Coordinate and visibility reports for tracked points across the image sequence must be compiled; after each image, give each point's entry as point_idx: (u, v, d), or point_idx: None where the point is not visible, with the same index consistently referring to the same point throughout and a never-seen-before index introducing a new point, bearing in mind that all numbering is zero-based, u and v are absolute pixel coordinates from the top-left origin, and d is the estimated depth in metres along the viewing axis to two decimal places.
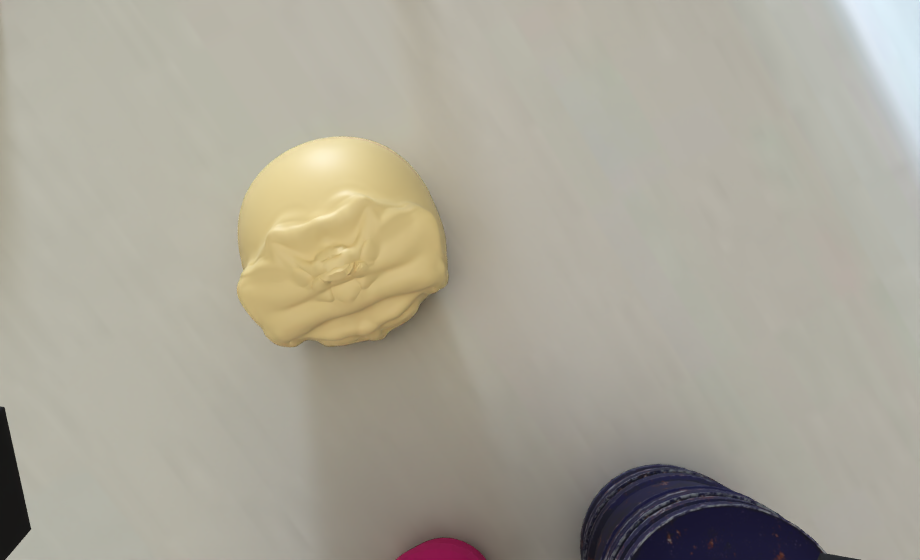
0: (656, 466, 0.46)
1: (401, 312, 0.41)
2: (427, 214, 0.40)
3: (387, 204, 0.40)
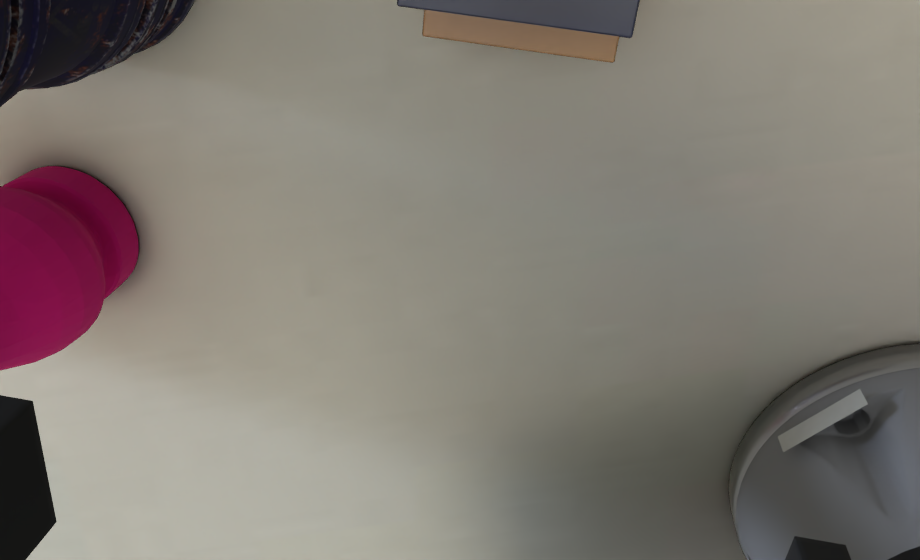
0: None
1: None
2: None
3: None
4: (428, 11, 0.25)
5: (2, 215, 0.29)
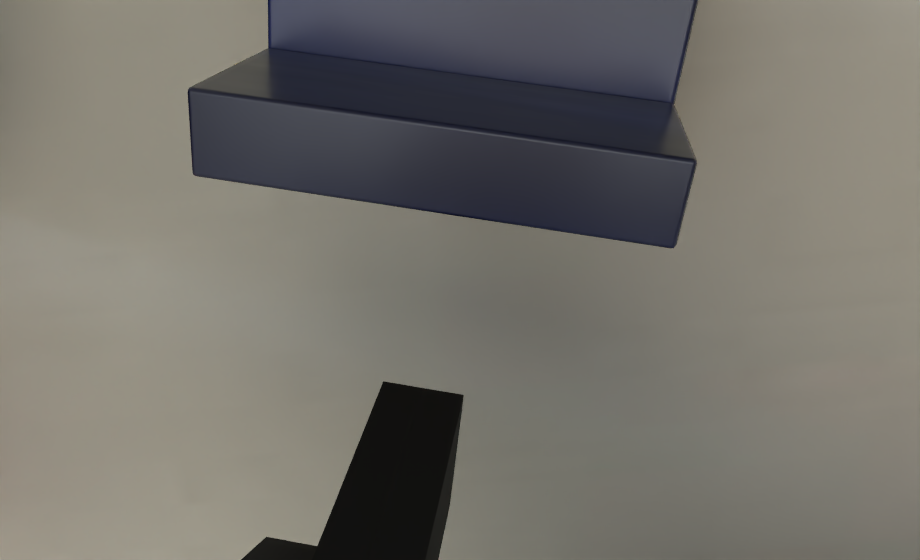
0: None
1: None
2: None
3: None
4: None
5: None
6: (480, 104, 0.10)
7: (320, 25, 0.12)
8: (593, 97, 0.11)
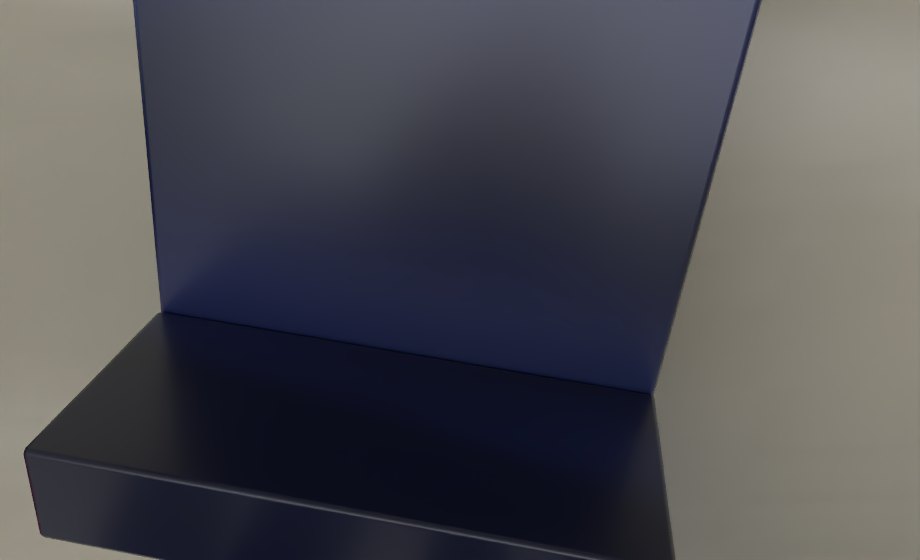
0: None
1: None
2: None
3: None
4: None
5: None
6: (406, 439, 0.08)
7: (221, 291, 0.10)
8: (553, 395, 0.09)
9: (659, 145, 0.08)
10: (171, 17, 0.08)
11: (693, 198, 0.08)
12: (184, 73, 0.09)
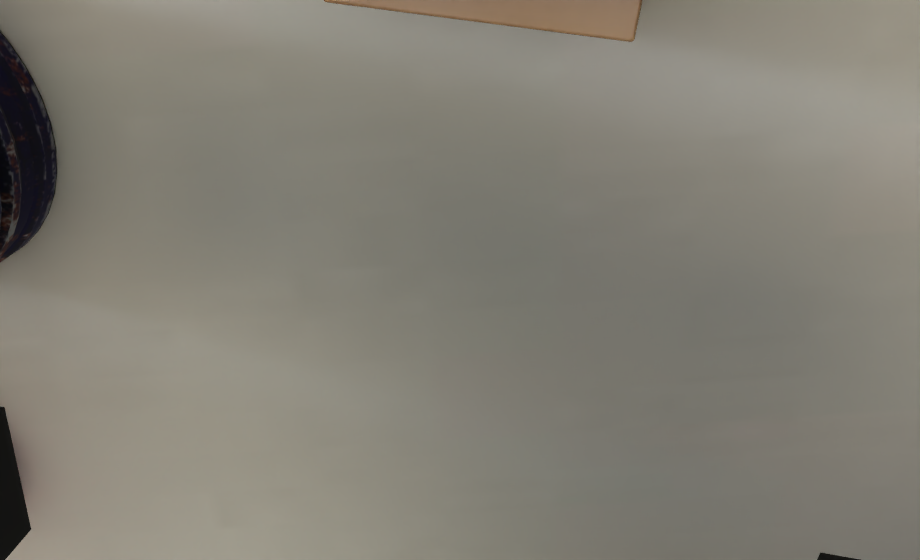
0: None
1: None
2: None
3: None
4: None
5: None
6: None
7: None
8: None
9: None
10: None
11: None
12: None
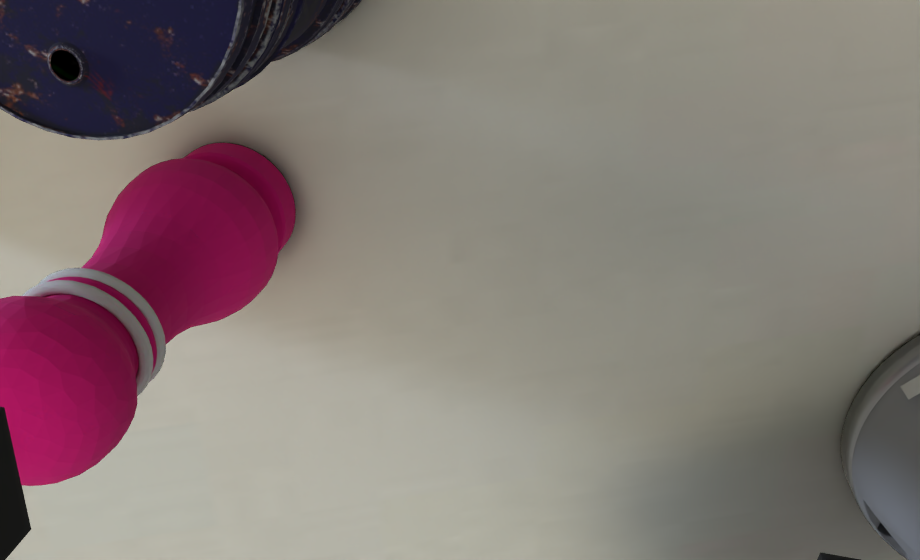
0: None
1: None
2: None
3: None
4: None
5: (201, 184, 0.32)
6: None
7: None
8: None
9: None
10: None
11: None
12: None
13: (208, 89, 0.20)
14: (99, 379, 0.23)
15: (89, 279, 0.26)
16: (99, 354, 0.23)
